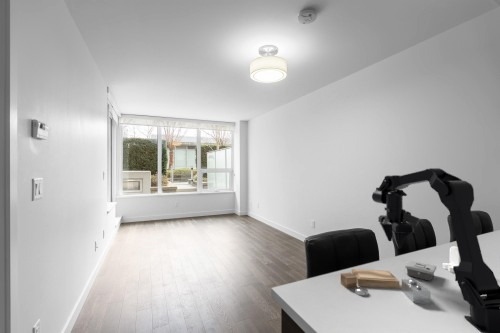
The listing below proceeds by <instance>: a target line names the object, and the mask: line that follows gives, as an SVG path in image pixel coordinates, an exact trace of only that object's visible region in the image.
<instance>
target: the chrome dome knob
mask: <svg viewBox="0 0 500 333" xmlns="http://www.w3.org/2000/svg"><path fill="white" fill-rule="evenodd" d="M368 292H369V291H368V289H367V288H365V287H364V286H357V287H356V288H354V293H355V294H356V295H358V296H361V297H366V296H368Z"/></svg>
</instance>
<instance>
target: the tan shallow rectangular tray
mask: <svg viewBox="0 0 500 333" xmlns="http://www.w3.org/2000/svg"><path fill="white" fill-rule="evenodd" d="M351 273H352V274H353V275H354V276H356V277H357V287H373V288H387V289H388V288H389V289H400V280H399V279H398V278H397V277H396V276H395V275H394V274H393V273H392V272H391V271H389V270H375V269H361V268H360V269H359V268H352V269H351Z"/></svg>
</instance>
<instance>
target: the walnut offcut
mask: <svg viewBox="0 0 500 333" xmlns="http://www.w3.org/2000/svg"><path fill="white" fill-rule="evenodd" d="M340 285H341V286H343V287H344V288H345V289H347V290H348V289H355V288H356V287H358V284H357V277H356V276H354V275H353V274H352V272H341V273H340Z"/></svg>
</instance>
